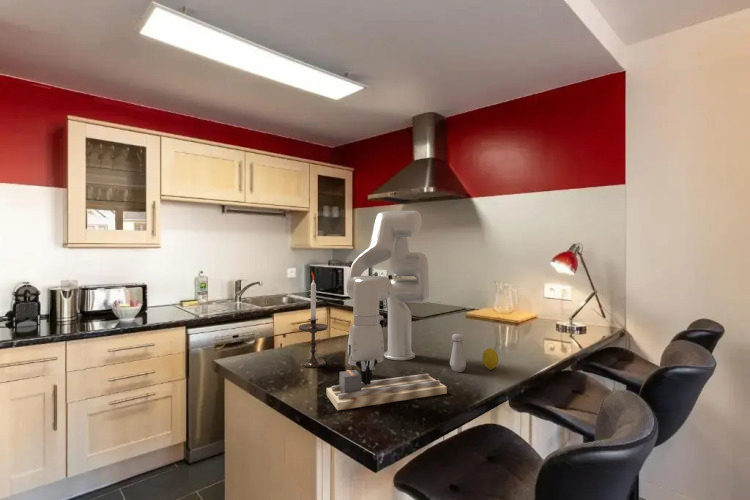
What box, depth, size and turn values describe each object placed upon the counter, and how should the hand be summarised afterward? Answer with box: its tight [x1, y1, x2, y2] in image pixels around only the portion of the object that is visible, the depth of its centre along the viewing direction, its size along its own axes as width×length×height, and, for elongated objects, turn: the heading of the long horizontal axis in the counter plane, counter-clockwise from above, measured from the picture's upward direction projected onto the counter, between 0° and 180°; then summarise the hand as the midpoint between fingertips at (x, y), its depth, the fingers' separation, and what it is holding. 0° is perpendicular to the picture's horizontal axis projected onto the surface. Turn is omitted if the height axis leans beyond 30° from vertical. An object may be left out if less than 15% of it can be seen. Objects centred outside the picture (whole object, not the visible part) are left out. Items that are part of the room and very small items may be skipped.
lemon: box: [481, 347, 499, 371], centre depth 139 cm, size 6×6×8 cm
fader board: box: [325, 373, 448, 411], centre depth 115 cm, size 34×12×3 cm, turn 111°
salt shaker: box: [449, 333, 467, 373], centre depth 138 cm, size 6×6×13 cm
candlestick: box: [298, 271, 329, 369], centre depth 145 cm, size 11×11×35 cm
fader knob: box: [339, 369, 362, 393], centre depth 111 cm, size 5×5×5 cm
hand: (366, 383), depth 113 cm, fingers closed
